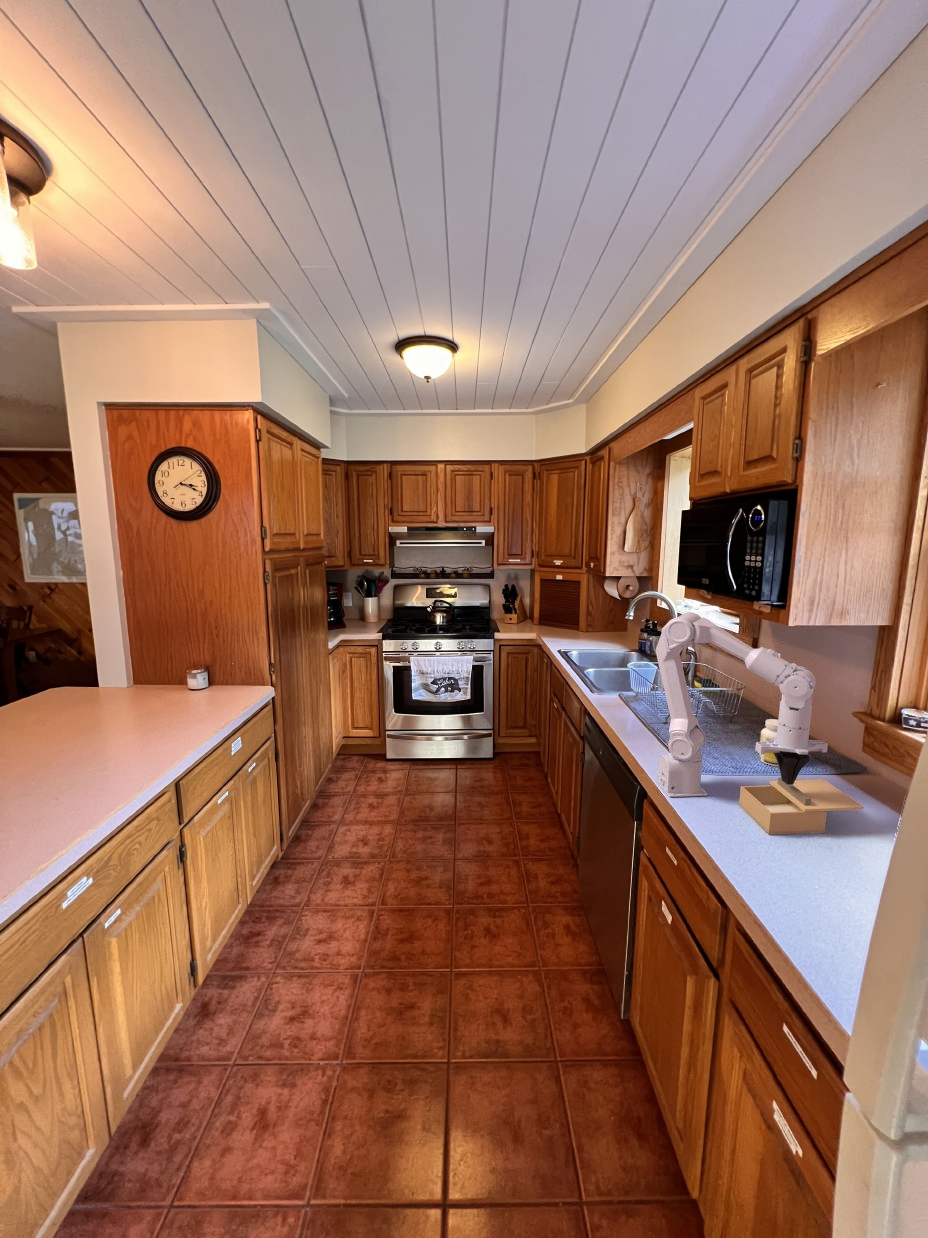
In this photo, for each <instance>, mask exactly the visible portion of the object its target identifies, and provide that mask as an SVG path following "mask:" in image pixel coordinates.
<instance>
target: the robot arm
mask: <svg viewBox="0 0 928 1238" xmlns="http://www.w3.org/2000/svg"><path fill="white" fill-rule="evenodd" d="M692 640H694V641H693V644H712V645H713V646H716V647H718V648H719V649H721V650H723V651H725V652H727V653H728V654H731V655H733V656H734V657H735V658H738V659H740V660H742V661H743V662H744V663H745V667H746V669H747V670H748V671H749V672H751V673H753V674H755V675H757V676H758V677H760V678H762V679H763V680H764V681H766V682H768V683H770V684H771V685H773V686H774V687H778V688H779V690H780V693H781V700H780V701H779V708H778V709H779V710H778V711H779V712H778V719H777V720H778V728H777V738H776V739H772V740H768V741H764V742H760V741H758V742H755V747H754V748H755V749H754V750H755V752H757V753H758V755H759V754H765V753H773V754H774V755H775V757H776V760H777V762H778V765H779V767H778V769H779V773H780V778H782V781H783V782H785V783H786V784H787V785H792V784H794V782H795V780H797V777H798V775H799V774H800V772H801V770H802V769H803V768H804V767H805V765H807V764H808V763H809V762H810V756H809V752H821V753H828V745H829V744H828V743H827V742H825V741H824V740H821V739H820V740H818V739H815V740H814V739H809V737H810V729H811V722H812V720H811V719H812V709H813V705H812V703H813V694H814V691H815V690H814V689H815V687H816V680H817V679H816V677H815V675H814V674H813V672H811V671H810V670H809V669H808V668H807V667H806V666H805V667H804V666H799V665H798V664H796V663H795V662H792V663H790V662H788V661H787V660H785V659H783V658H782V657H780V656H778V655H776V650H774V649H773V648H769V649H766V648H765V647H760V648H759V647H758V648H753V647H751V646H750V645H748V644H746V642H744V641H742V640H740V639H739V638H737V637H736V636H734V635H733V634H731V633H729V632H728V631H726V630H725V629H723V628H722V627H720V626H719V625H717V624H715V623H714V622H713V621H711V620H710V619H708V618H706V617H702V616H700V615H699V614H697V613H696V612H691V611H687V612H684V613H682V614H681V615H679V616H677V617H674V618H672V619H670V620H669V621H668V622H667V623H666V624H665V625H664V626H663V627H662V628H661V634H660V637H659V639H658V642H657V644H656V648H655V654H656V658H657V663H658V667H659V672H660V673H659V674H660V677H661V681H662V684H663V685H662V686H663V689H664V694H665V698H666V699H665V700H666V704H667V708H668V712H669V716H670V724H669V729H668V733H669V740H668V744H667V745H668V750H669V753H667V754H662V755H661V756H660V757H659V760H658V774H657V778H656V782H657V784H658V785H659V786H660V787H661V788H662V790H663V791H664V792H665V793H666V795H668V797H671V798H676V797H678V798H681V797H702V796H703V797H705V796H708V792H707V791H706V790H704V788H703V787H702V786H701V785H702V784H701V783H702V768H703V767H702V766H703V754H702V753H703V752H702V749H701V747H703V746H704V745H705V743H706V738H707V737H706V734H705V731H704V730H703V729H702V728H701V726H700V724H699V719H697V717H696V716H695V715H694V712H693V708H692V703H691V700H690V694H689V690H688V685H687V682H686V677H685V672H684V668H683V663H682V658H681V655H680V654H681V652H682V651H683V650H684V649H685V647H686V646H687V645H688V643H689V642H691V641H692Z"/></svg>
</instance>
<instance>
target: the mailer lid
mask: <svg viewBox="0 0 928 1238" xmlns="http://www.w3.org/2000/svg"><path fill="white" fill-rule="evenodd" d="M769 784H770V785H772V786H773V787H775V788H776V789H777V790H778V791H780V792H781V793H782V794H783V795H784V796H786V797H787V798H788V799H789V800H791V801H792V802H793V803H794V804H796V805H797V806H798V807H799V808H800V809H802V810H803V811H804V812H812V811H827V812H832V811H833V812H834V811H835V812H836V811H838V812H839V811H861V810H865V807H864V805H861V804H860V803H859V802H857V801H856V800H855V799H853V798H851V797H850V796H849V795H847V794H846V793H844V792H843V791H841V789H839V788H837V787H835V786H834V785H833V784H831V783H830V782H828V781H827V780H825V779H824V778H821V779H820V778H819V779H796V780H795V782H794V784H792V785H787V784H786V783H785V782H783V781H782V778H781V777H777V780H770V781H769Z"/></svg>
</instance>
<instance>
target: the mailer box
mask: <svg viewBox="0 0 928 1238" xmlns="http://www.w3.org/2000/svg"><path fill="white" fill-rule="evenodd" d="M738 801H739V803H738V807H740V808H741V810H742V811H743V812H745V814H747V815H748V817H750V818H751V819H752V820H753V821H754V822H755V823H756V824H757V825H758V826H759V827H760V828H761V829H762V830H763V832H765V833H766V834H767V835H768V836H771V835H772V836H774V835H799V834H800V835H803V834H822V833H823V834H824V833H825V830H826V823H827V814H828V811H812V812H804V811H803V810H802V809H800V808H799V807H798V806H797V805H796V804H794V803H793V802H792V801H791V800H789V799H788V798H787V797H786V796H784V795H783V794H782V793H781V792H780V791H778V790H777V789H776V788H775V787H773V786H772V785H771V784H770V785H769V784H767V785H746V786H744V785H743V786H742V785H741V786H740V791H739V800H738Z"/></svg>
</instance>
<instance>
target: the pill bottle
mask: <svg viewBox="0 0 928 1238" xmlns="http://www.w3.org/2000/svg"><path fill="white" fill-rule="evenodd" d="M764 724H765V725H764V726H765V727H764V728H762V730H761V731H760V741H759V742H764V741H768V740H772V739H776V738H777V728H778V719H773V718H769V719H768V718H767V719H766V720H765V723H764ZM758 759H759V762H761V763H763V764H765V765H767V764H768V765H767V766H770V765H771V767H778V768H779V765H778V762H777V760H776V757H775V755H774V754H773V753H765V754H759V753H758Z"/></svg>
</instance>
